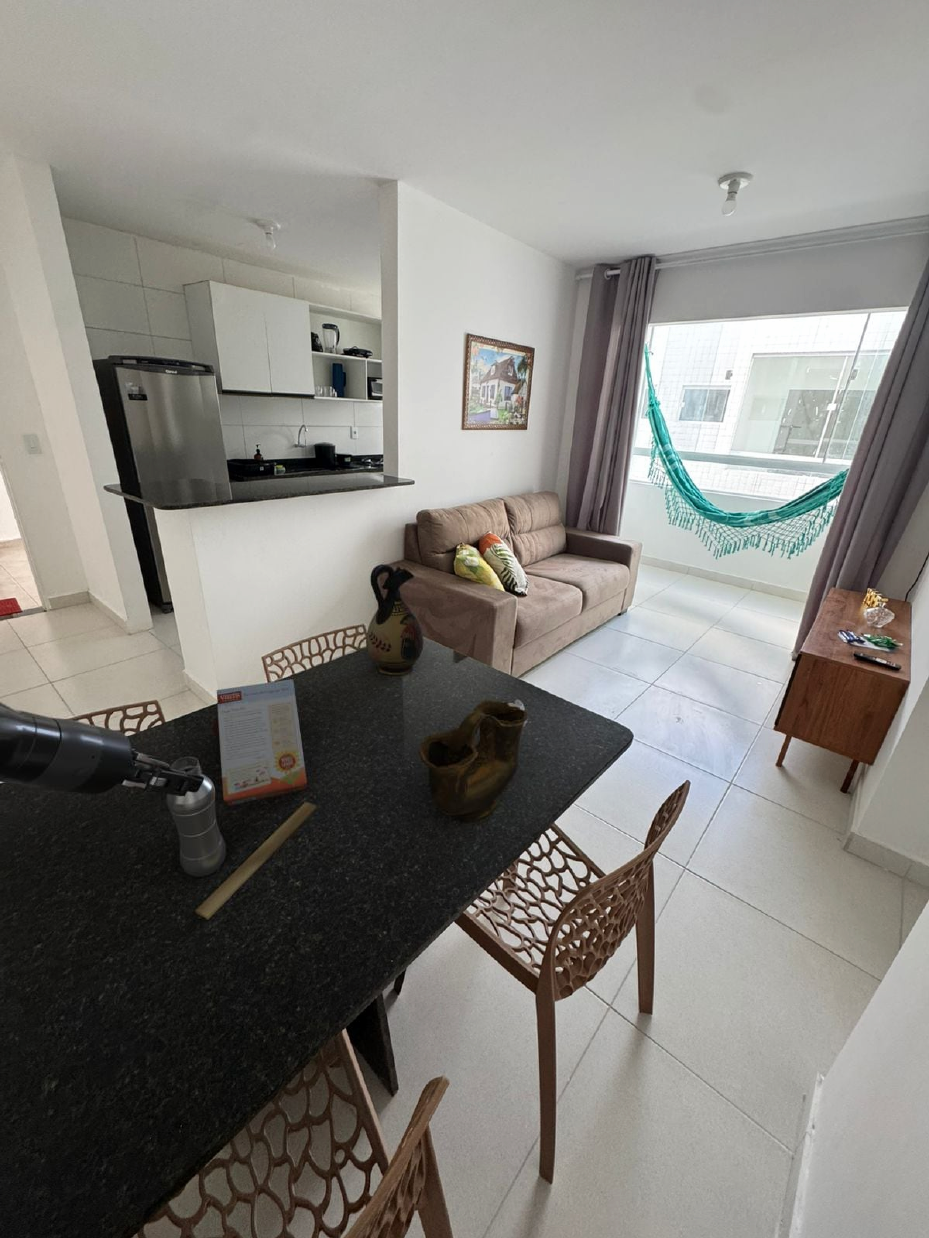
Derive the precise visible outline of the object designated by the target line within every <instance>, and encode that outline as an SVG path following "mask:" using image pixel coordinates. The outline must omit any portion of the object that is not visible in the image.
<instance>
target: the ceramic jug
mask: <svg viewBox="0 0 929 1238" xmlns="http://www.w3.org/2000/svg"><path fill="white" fill-rule="evenodd" d="M384 573H387V577H386V578H385V580H384V582H383V584H382V586H381V588H382V589H383V590H386V594H385V597H384V596H383V594H382V592H381V588H380V585H379V577H380V576H381V575H383V574H384ZM369 577H370V586H371V588H372V591H373V594H374V597H375V601H376V602H377V610H376V611H375V613H374V614H373V616H372V618H371V620H370V622H369V625H368V628H367V630H366V631H367V632H366V637H365V647H366V652H367V655H368V656H369V658H370V660H371V661H372V662H373V663H374V664H376V666H377V667H378V671H379V673H382V674H385V675H388V676H403V675H407V674H410V673H412V672H413V668H414V667H413V666H414V665H415V664H416V662H417V661H418V660H419V658H420V657H421V655H422V652H423V649H424V635H423V631H422V627H421V624H420V622H419V620H418V617H416V615H415V613H414V612H413V611H412V609H411V608H410V606H409V605H408V604H407V602H405V600H404V598H402V596H401V591H400V588H401V587H402V586H403V585H404V584H405V583H406V582H408V581H411V580H412V579H414V577H415V576H414V574H413V573H412V572H411V571H409V569H406V568H401V567H400V566H396V569H394V568H393V567H392V566H391V565H388V564H383V563H381V564H378V565H375V567H373V569H372V571H371V572H370V575H369Z"/></svg>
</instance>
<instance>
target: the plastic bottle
mask: <svg viewBox="0 0 929 1238" xmlns="http://www.w3.org/2000/svg"><path fill="white" fill-rule="evenodd" d="M170 768H171V769H175V770H178V771H185V773H190V774H196V775H200V776H202V777H204V780H203V783H202V785H201V787H200V789H199V791H198V792H196V793H194V792H187V793H186V795H185V796H182V797H181V796H178V795H171V794H166V805H167V807H168V810H169V812H170V814H171V816H172V818H173V820H174V823H175V826H176V829H177V833H178V838H179V839H178V840H179V862H180V866H181V867H182V869H183V871H184V872H185V873H186V874H187V875H189V876H190V877H195V878H203V877H207V876H210V875H211V874H213V873H215V872H216V871H218V869H220V867H221V866H222V864H223V863H224V862H225V859H226V856H227V855H226V853H227V846H226V845H227V844H226V842H225V840H224V837H223V836H222V834H221V832H220V828H219V824H218V822H217V814H216V788H215V785H214V783H213V781H212V780H211V779H210V778H209V777H208V776H207V775H205V774H203V773H202V767H201V765H200V761H199V759H198V758H196V756H195V757H194V756H185V757H180V758H178V759H176V760H175V761H174V762H173V763H172V764H171V765H170Z"/></svg>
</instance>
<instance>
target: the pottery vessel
mask: <svg viewBox="0 0 929 1238" xmlns="http://www.w3.org/2000/svg"><path fill="white" fill-rule="evenodd" d="M508 703H509V702H508V701H504V702H502V701H494V700H491V699H489V700H488V699H487V700H486V699H485V700H483V701H482V702H479V703H478V704H477V705H476V706H475V707H474V708H473V711H472V712H470V713H469V714H467V716H466V717H465V718H464V719H463V720H462V721H461V723H460V725H459V726H458V727H455V728H452V729H450V730H448V731H444V732H440V733H434V734H431V735H427V736H425V737H424V738H423V740H422V741H421V742H420V743H418V745H417V746H418V751H417V753H418V755H419V757H420V761H421V762H422V763H423V764H424V765H425V766H426V767H427V768H428V778H429V779H428V781H429V782H428V786H429V790H430V794H431V799H433V801H434V804H435V805H436V807H437V808H438V809H439V811H440V812H441V813H443V814H444V815H446V816H451V817H452V816H453V817H455V818H457V819H459V821H461V822H465V823H467V822H468V823H469V822H478V821H481V820H483V819H485V818H487V817H488V816H490V815H492V813H493V812H494V811H495V810H497V808H498V806H499V805H500V796H501V795H502V794H503V792H504V791H505V790H506V789H507V787H508V785H509V784H510V783H511V780H512V779H513V777H514V776H515V774H516V773H517V770H518V768H519V746H520V741H521V736H522V730H523V728H524V727H523V724H524V722H525V721H526V720H527V721H528V716H529V713H528V711H527V710H525V711H524V710H521V709H520V707H515V706H509V705H508ZM478 730H479V741H478V742H477V744H476V745H475V743H474V742H475V737H476V735H477V734H478Z"/></svg>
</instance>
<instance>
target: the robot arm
mask: <svg viewBox="0 0 929 1238" xmlns="http://www.w3.org/2000/svg"><path fill="white" fill-rule="evenodd" d="M158 767H160V768H158ZM203 780H204V777H202V776H200V775H196V774H190V773H185V771H178V770H175V769H171V765H170V764H169V763H168V762H165V761H161V758H160V757H158V756H154V755H151V754H145V753H143V752H139V751H137V749H135V748H132V744H131V741H130V738H129V737H128V736H127V735H126V734H124V733H123V732H122V731H119V730H115V729H111V728H107V727H102V726H99V725H93V724H90V723H86V722H82V721H78V720H74V719H67V718H58V717H52V716H46V715H43V714H38V713H35V712H29V711H25V710H21V709H15V708H13V707H11V706H10V705H7V704H6V703H4V702H2V701H1V700H0V783H8V784H15V785H22V786H26V787H29V788H34V789H37V790H38V789H39V790H45V791H46V790H47V791H56V792H63V793H64V792H65V793H74V794H83V795H100V794H104V793H107V792H108V791H110V790H111V789H113V788H114V787H115V786H117V785H118V784H120V785H121V786H122V785H123V786H126V787H130V788H132V787H139V788H142V789H144V790H145V791H146V792H147V793H157V794H158V793H159V794H165V795H167V794H171V795H178V796H181V797H182V796H185V795H186V793H187V792H194V793H196V792H198V791H199V789H200V787H201V785H202V783H203Z"/></svg>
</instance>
